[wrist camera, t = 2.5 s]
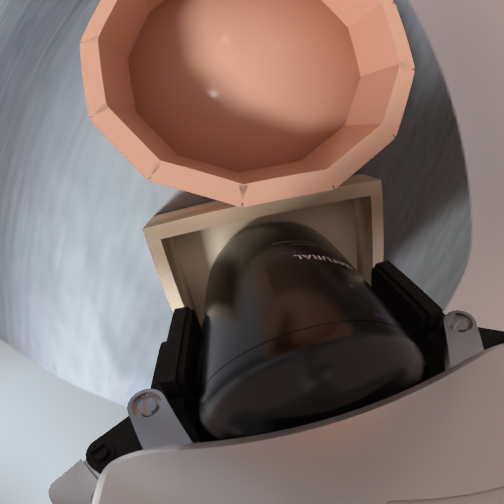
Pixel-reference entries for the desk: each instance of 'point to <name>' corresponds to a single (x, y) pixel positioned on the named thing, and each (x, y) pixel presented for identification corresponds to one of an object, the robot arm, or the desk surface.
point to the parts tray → (242, 218)
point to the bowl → (247, 91)
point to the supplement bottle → (294, 337)
